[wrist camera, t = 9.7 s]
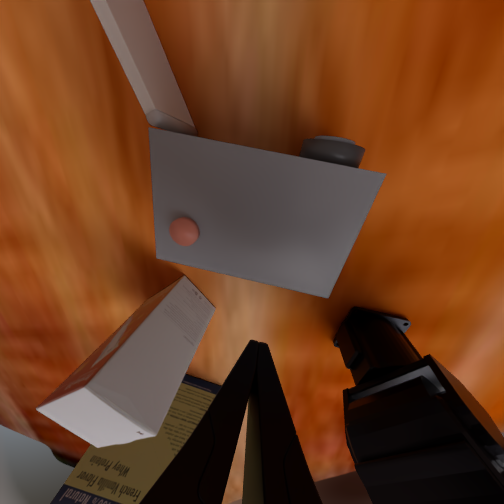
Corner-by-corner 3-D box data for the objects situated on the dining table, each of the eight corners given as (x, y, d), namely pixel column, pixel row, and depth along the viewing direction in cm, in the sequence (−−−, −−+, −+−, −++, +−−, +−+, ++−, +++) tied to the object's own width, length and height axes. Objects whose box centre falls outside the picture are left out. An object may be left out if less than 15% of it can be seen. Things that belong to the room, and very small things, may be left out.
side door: (127, -6, 13) (32, -113, 8) (137, -15, 13) (46, -132, 8) (189, 141, 16) (149, 129, 11) (199, 136, 16) (162, 122, 11)
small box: (184, 273, 23) (82, 387, 11) (217, 308, 24) (158, 439, 13) (146, 298, 25) (31, 411, 14) (177, 328, 27) (98, 451, 15)
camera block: (357, 151, 15) (408, 141, 9) (314, 262, 19) (329, 303, 14) (192, 120, 16) (139, 91, 10) (189, 234, 20) (151, 261, 14)
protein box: (146, 359, 32) (41, 511, 18) (231, 388, 32) (192, 561, 18) (145, 390, 36) (61, 530, 22) (219, 415, 36) (181, 570, 22)
